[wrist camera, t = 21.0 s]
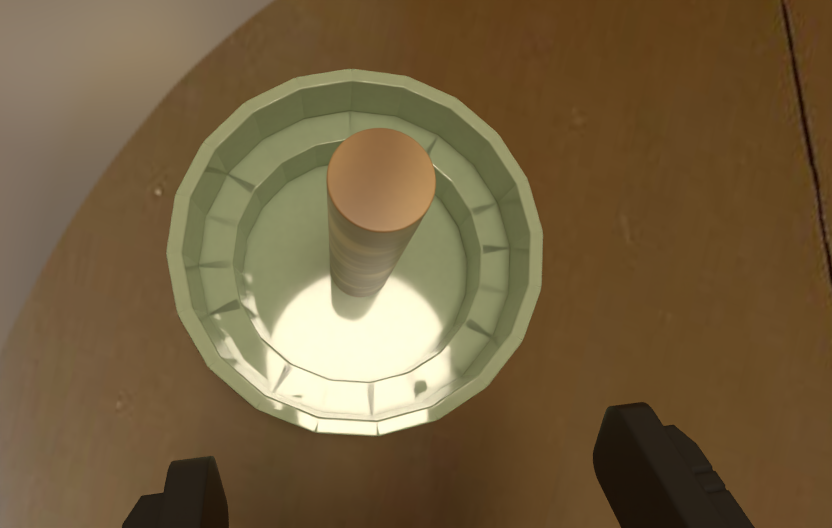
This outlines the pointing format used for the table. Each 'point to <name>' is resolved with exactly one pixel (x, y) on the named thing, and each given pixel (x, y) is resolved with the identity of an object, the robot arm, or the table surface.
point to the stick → (374, 205)
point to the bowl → (310, 260)
